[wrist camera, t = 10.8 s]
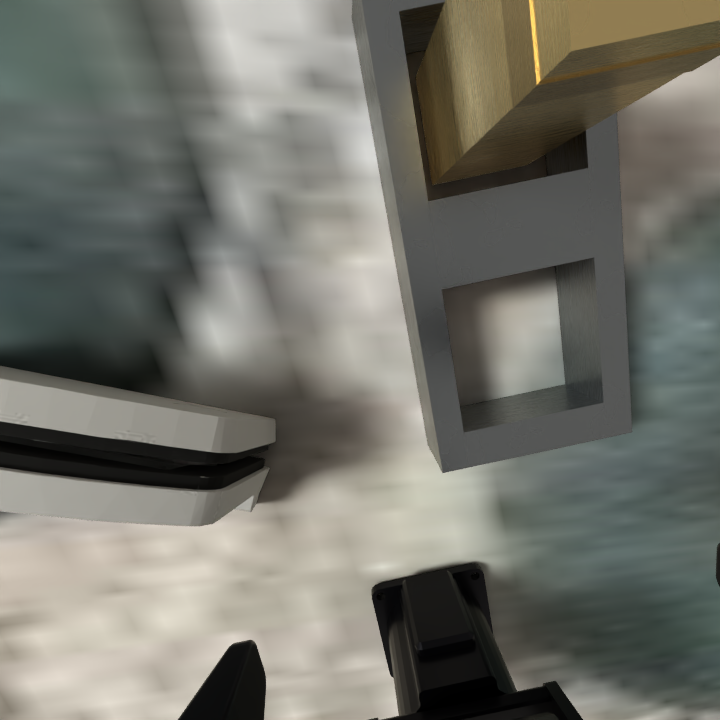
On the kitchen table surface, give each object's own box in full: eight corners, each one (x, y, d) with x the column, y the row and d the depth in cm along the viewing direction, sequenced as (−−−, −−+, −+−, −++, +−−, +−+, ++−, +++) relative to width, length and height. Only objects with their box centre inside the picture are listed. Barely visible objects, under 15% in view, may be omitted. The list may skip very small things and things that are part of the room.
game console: (-71, 448, 19) (-466, 491, 9) (-38, 357, 20) (-375, 307, 10) (263, 505, 21) (222, 591, 11) (282, 418, 22) (259, 427, 12)
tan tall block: (527, 166, 18) (806, 5, 7) (431, 186, 18) (569, 54, 7) (515, 55, 17) (821, -323, 6) (414, 76, 17) (544, -267, 6)
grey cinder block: (590, 410, 21) (632, 431, 18) (427, 445, 21) (442, 472, 18) (558, -26, 16) (606, -91, 13) (351, 16, 16) (354, -41, 13)
